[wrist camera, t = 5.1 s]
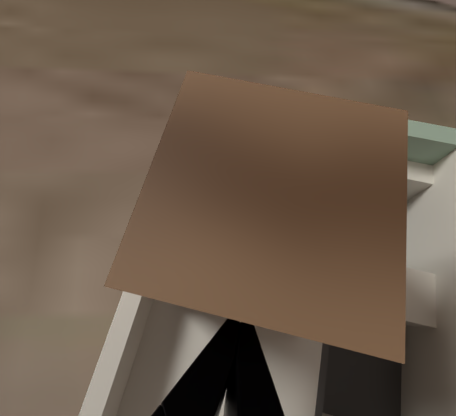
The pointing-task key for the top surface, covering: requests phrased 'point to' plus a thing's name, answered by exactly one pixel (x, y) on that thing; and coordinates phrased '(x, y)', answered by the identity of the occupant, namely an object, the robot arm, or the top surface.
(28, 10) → the top surface
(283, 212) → the walnut block
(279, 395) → the box
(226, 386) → the robot arm
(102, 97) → the top surface
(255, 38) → the top surface
